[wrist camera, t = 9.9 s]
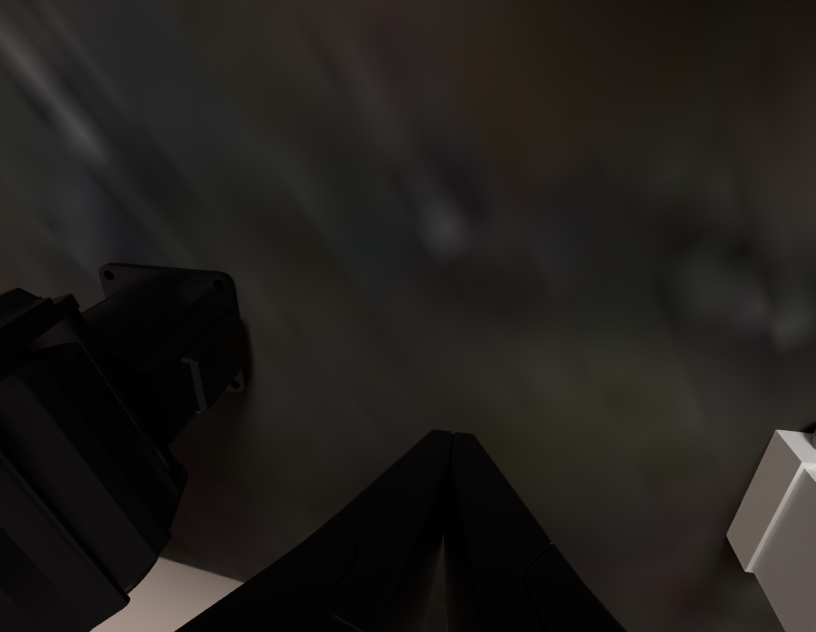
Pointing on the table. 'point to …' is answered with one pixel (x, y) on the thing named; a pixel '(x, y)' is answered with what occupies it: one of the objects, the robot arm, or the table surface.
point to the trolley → (782, 528)
